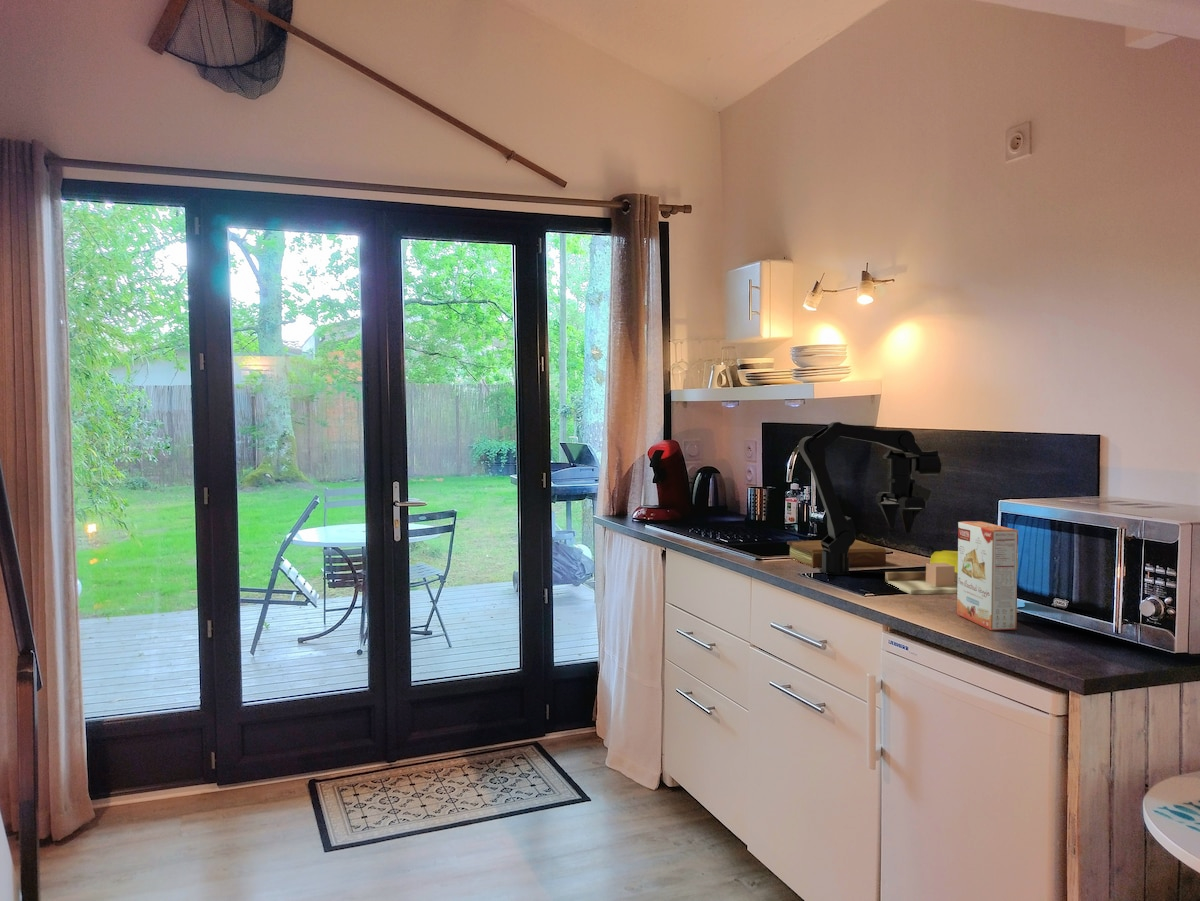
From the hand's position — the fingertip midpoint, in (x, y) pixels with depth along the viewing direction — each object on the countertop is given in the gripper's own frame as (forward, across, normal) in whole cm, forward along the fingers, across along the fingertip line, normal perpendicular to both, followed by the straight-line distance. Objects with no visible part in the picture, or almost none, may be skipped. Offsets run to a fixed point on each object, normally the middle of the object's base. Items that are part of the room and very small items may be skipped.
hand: (899, 530), depth 237 cm
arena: (+12, -20, +2) cm, 24 cm away
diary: (+13, +21, +10) cm, 27 cm away
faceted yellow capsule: (+12, -4, -15) cm, 20 cm away
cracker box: (+12, -57, +9) cm, 59 cm away
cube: (+11, -21, 0) cm, 24 cm away
